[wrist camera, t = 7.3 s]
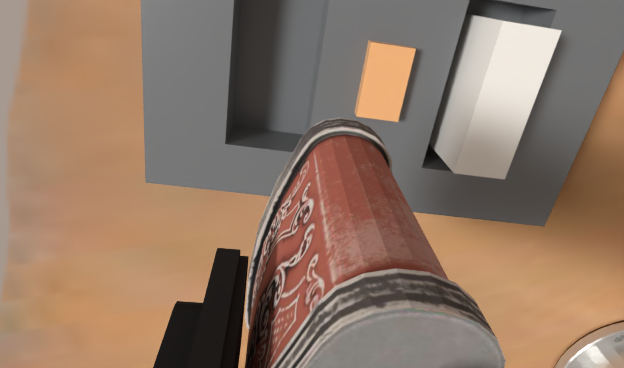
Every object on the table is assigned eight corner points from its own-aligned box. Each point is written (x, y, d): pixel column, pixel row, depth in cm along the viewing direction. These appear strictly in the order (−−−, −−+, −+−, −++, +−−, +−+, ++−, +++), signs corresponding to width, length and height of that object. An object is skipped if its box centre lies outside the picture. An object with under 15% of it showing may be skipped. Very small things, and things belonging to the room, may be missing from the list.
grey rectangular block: (605, -38, 25) (678, -42, 20) (512, 195, 32) (550, 232, 27) (164, -119, 23) (130, -145, 18) (165, 154, 29) (141, 188, 25)
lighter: (320, 335, 15) (367, 842, 6) (229, 317, 15) (139, 851, 6) (410, 136, 12) (771, 606, 3) (298, 102, 11) (337, 565, 2)
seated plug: (504, 20, 25) (561, 30, 20) (464, 142, 29) (504, 179, 24) (457, 12, 25) (503, 20, 20) (423, 137, 29) (453, 173, 23)
